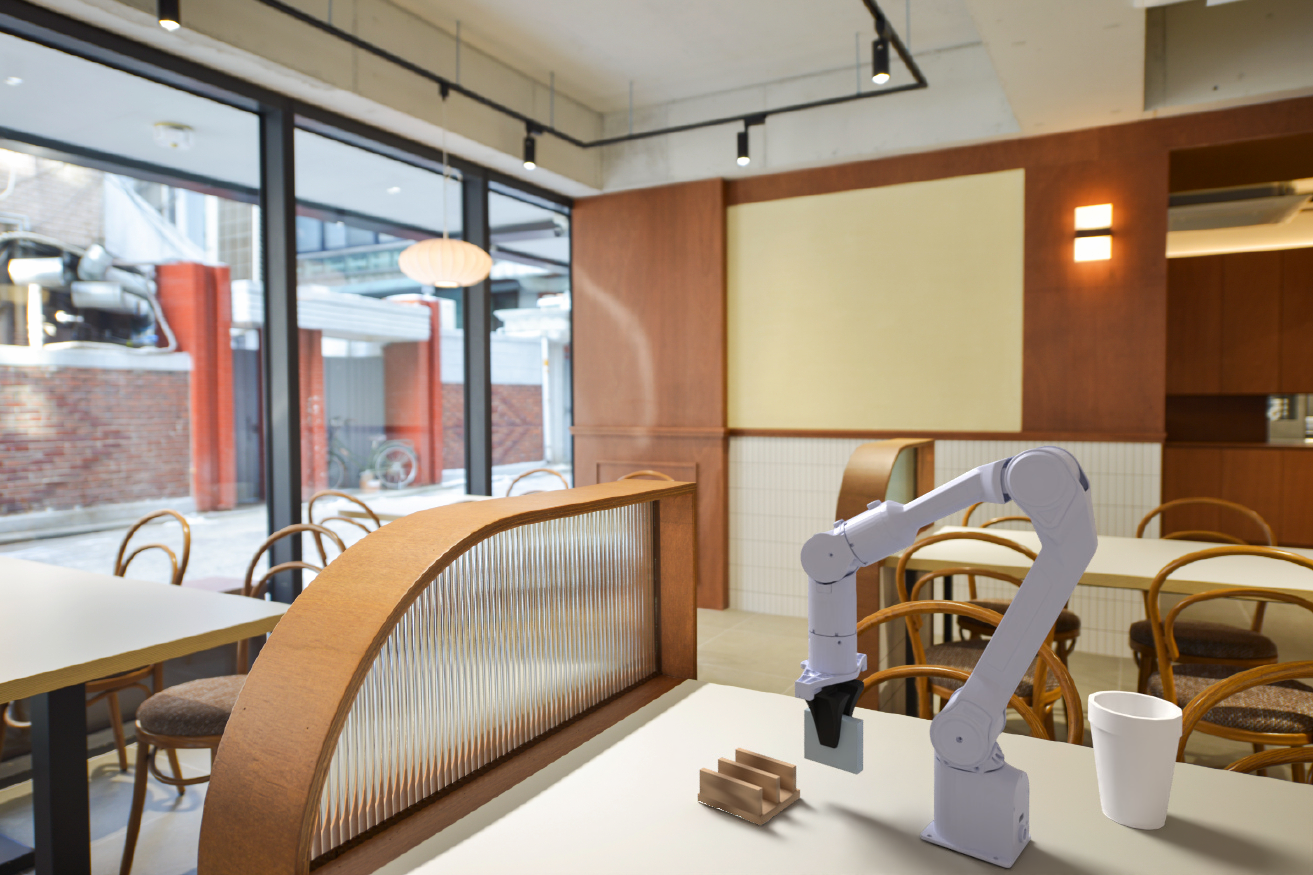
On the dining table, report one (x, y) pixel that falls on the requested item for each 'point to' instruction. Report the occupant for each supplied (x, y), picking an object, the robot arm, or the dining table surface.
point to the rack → (750, 786)
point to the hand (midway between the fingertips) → (833, 742)
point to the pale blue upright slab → (848, 748)
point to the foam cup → (1134, 755)
